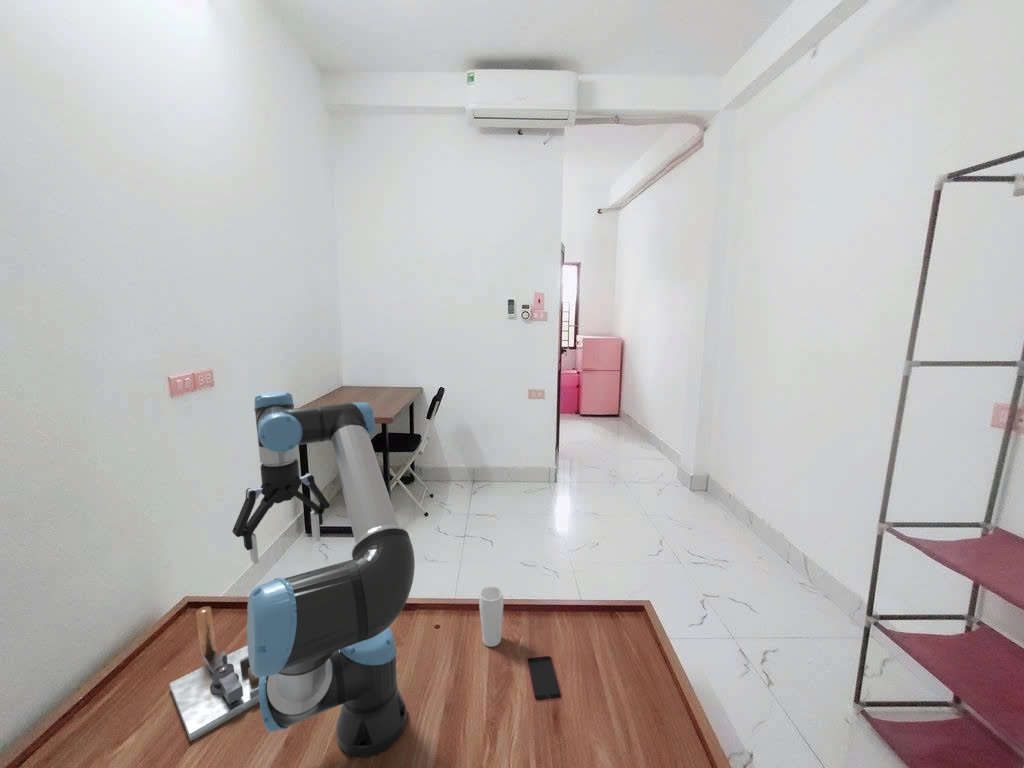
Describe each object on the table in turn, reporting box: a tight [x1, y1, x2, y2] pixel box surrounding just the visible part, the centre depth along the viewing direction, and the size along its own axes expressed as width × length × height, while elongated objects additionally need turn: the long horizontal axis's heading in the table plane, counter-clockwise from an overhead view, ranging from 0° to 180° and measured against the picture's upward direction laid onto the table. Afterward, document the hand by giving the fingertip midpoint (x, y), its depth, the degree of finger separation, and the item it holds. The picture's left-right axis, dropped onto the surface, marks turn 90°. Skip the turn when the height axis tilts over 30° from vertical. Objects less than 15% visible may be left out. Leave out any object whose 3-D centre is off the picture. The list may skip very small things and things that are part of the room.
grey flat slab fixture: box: [169, 644, 260, 742], centre depth 111 cm, size 20×19×6 cm
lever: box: [195, 606, 243, 704], centre depth 111 cm, size 22×4×14 cm, turn 49°
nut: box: [248, 667, 260, 685], centre depth 112 cm, size 4×4×3 cm
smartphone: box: [526, 655, 563, 703], centre depth 115 cm, size 7×1×14 cm
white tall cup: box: [478, 585, 504, 648], centre depth 127 cm, size 7×7×15 cm
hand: (287, 549), depth 104 cm, fingers open, 13 cm apart
